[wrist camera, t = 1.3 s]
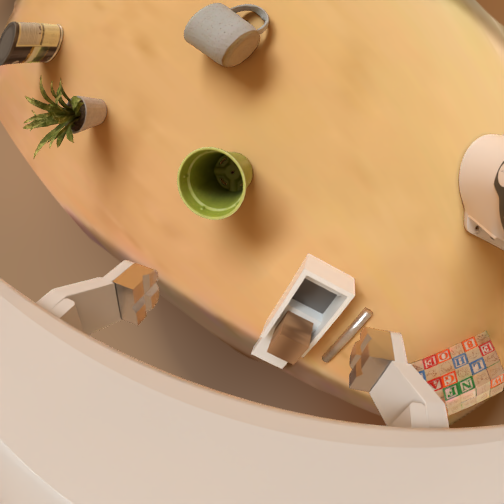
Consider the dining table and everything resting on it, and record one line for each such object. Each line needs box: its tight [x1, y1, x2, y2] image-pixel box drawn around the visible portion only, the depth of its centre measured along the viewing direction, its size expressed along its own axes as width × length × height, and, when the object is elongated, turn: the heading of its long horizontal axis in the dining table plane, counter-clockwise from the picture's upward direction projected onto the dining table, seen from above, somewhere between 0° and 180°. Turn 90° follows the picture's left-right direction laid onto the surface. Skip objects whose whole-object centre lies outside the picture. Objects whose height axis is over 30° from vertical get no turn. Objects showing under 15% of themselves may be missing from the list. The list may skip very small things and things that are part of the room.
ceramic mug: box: [184, 3, 269, 67], centre depth 28 cm, size 11×8×8 cm
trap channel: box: [251, 253, 355, 369], centre depth 47 cm, size 9×24×5 cm, turn 157°
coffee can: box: [0, 22, 63, 66], centre depth 32 cm, size 10×10×14 cm
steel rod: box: [322, 307, 373, 362], centre depth 48 cm, size 14×2×2 cm
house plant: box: [23, 77, 107, 159], centre depth 35 cm, size 14×14×16 cm
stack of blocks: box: [411, 331, 504, 415], centre depth 39 cm, size 21×6×12 cm, turn 124°
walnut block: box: [267, 311, 314, 365], centre depth 45 cm, size 5×5×6 cm
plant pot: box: [177, 147, 253, 220], centre depth 38 cm, size 9×9×9 cm
